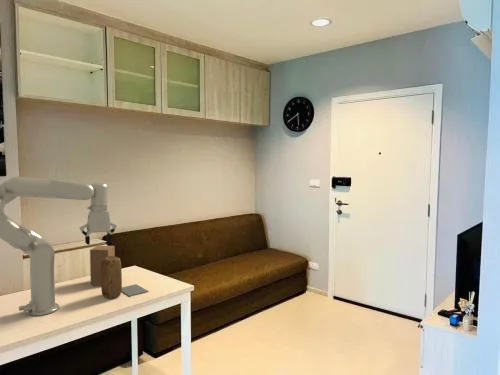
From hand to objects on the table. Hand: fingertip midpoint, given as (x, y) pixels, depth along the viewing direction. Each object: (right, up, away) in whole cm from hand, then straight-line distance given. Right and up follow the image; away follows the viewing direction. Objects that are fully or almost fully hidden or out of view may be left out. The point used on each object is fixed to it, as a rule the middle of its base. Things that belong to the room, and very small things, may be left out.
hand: (98, 243), depth 179 cm
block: (+4, -28, +6) cm, 29 cm away
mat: (+13, -27, +14) cm, 33 cm away
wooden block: (-8, -26, +26) cm, 38 cm away
